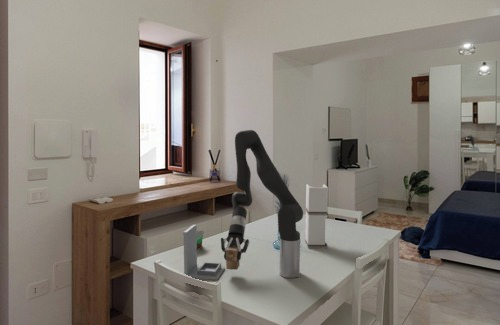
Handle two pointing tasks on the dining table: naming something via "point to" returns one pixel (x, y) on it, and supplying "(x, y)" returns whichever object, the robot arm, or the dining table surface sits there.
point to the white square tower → (316, 216)
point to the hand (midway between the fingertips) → (231, 259)
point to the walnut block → (232, 258)
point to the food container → (199, 238)
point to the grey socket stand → (190, 259)
